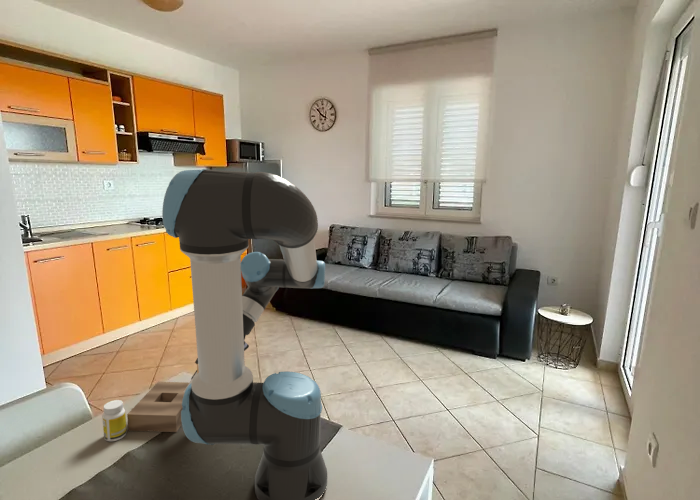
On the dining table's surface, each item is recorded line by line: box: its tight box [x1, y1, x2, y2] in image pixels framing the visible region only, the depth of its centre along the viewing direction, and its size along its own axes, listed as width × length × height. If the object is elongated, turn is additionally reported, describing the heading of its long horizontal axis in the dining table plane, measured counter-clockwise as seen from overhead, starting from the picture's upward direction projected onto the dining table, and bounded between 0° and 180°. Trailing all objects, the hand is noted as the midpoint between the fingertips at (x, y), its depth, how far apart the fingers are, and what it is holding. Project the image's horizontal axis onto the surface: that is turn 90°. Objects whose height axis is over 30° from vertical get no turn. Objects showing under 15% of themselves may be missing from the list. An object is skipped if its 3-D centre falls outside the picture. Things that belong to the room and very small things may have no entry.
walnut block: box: [126, 381, 190, 433], centre depth 104 cm, size 16×12×4 cm
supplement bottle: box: [102, 399, 128, 442], centre depth 93 cm, size 5×5×8 cm
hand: (192, 396), depth 96 cm, fingers closed on dowel, 3 cm apart
